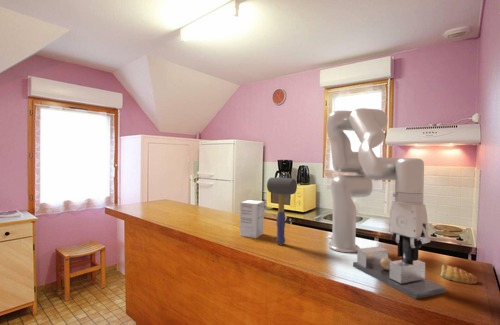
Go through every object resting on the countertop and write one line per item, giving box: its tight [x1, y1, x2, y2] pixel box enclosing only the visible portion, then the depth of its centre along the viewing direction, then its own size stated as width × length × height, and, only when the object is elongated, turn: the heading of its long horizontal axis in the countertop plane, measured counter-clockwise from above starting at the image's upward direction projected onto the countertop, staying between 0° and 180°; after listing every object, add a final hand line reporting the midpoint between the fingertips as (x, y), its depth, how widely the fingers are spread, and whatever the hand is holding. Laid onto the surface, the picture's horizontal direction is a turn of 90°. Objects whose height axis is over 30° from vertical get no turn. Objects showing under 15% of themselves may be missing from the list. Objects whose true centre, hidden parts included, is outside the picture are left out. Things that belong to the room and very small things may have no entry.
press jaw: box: [389, 235, 426, 283], centre depth 82 cm, size 4×10×13 cm, turn 111°
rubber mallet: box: [266, 176, 298, 246], centre depth 119 cm, size 12×8×30 cm, turn 56°
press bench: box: [352, 246, 447, 300], centre depth 86 cm, size 24×12×6 cm, turn 21°
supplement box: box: [239, 199, 265, 239], centre depth 134 cm, size 10×9×17 cm
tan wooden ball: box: [380, 257, 393, 270], centre depth 89 cm, size 4×4×4 cm
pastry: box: [440, 264, 478, 285], centre depth 86 cm, size 9×7×4 cm
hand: (407, 257), depth 82 cm, fingers closed on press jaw, 3 cm apart
